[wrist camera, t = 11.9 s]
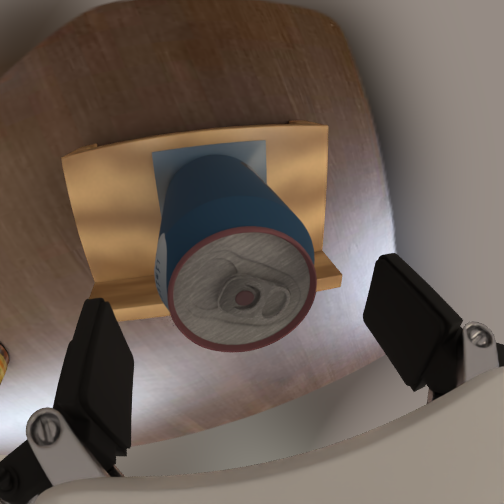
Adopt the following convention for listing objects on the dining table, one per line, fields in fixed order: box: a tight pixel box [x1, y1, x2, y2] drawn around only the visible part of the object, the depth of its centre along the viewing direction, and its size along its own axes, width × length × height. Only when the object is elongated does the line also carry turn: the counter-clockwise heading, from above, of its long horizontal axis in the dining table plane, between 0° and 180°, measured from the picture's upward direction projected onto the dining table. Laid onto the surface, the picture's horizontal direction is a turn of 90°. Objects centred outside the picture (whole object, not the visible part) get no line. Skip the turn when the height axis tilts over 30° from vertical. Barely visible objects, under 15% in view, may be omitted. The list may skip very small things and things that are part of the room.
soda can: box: [154, 155, 317, 352], centre depth 16 cm, size 7×7×12 cm
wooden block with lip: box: [61, 121, 342, 322], centre depth 22 cm, size 12×20×9 cm, turn 92°
